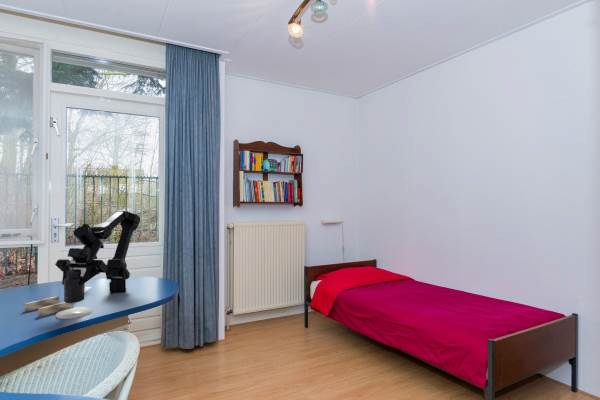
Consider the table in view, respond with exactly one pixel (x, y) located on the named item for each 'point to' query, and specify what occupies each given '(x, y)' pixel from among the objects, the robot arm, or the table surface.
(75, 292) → the supplement bottle
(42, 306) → the channel
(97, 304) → the table surface
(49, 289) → the table surface
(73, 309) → the pad
